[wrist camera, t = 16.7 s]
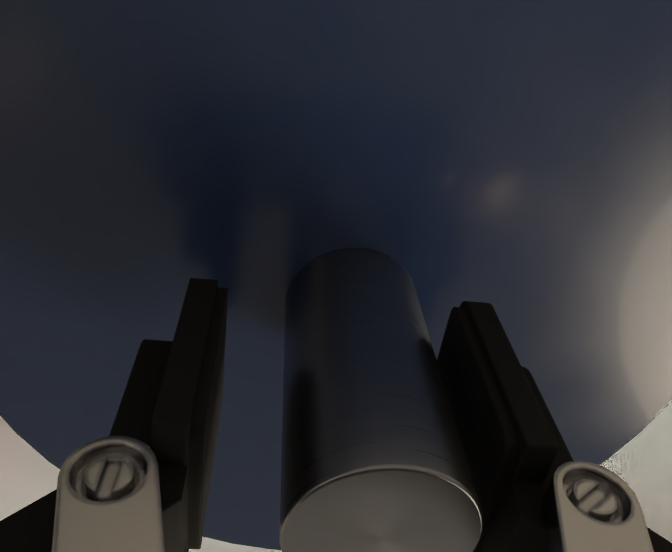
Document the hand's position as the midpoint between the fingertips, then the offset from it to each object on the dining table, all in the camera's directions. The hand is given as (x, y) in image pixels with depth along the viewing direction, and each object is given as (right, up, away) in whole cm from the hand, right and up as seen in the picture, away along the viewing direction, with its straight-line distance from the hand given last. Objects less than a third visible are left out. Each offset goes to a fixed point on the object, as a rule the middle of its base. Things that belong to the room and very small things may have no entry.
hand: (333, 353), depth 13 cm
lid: (0, +1, +2) cm, 2 cm away
